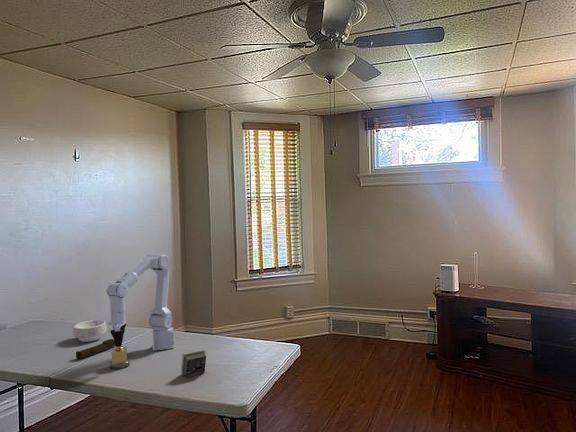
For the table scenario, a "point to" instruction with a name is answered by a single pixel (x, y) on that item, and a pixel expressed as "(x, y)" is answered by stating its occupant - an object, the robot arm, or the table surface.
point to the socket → (119, 355)
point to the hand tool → (96, 349)
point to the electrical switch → (193, 363)
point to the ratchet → (120, 365)
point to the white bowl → (89, 330)
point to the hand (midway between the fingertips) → (119, 343)
